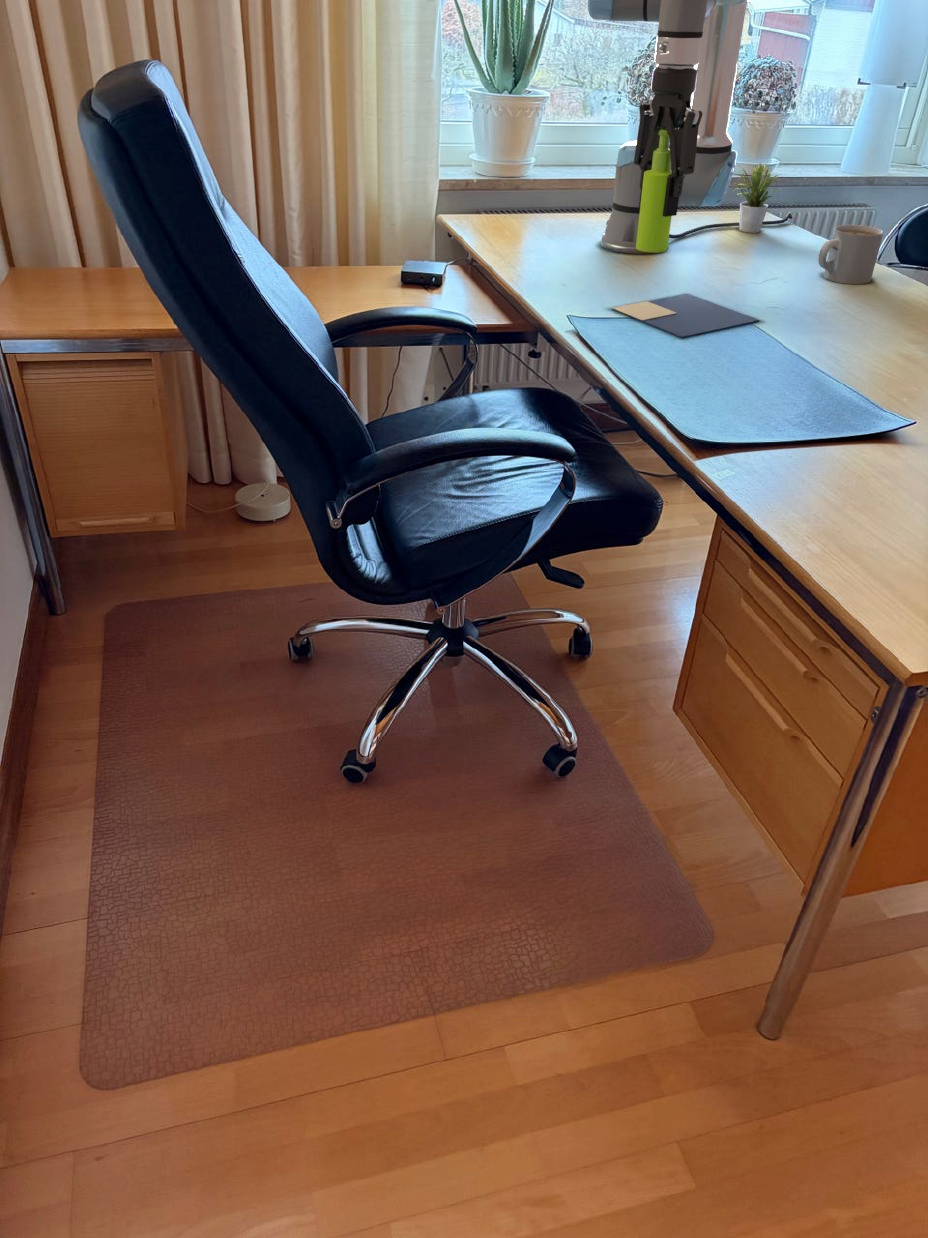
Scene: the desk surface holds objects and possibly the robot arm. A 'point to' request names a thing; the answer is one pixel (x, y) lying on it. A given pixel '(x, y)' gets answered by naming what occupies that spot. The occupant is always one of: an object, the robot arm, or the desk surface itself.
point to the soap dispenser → (655, 201)
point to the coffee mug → (851, 254)
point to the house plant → (754, 200)
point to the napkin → (684, 315)
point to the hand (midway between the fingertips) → (657, 211)
